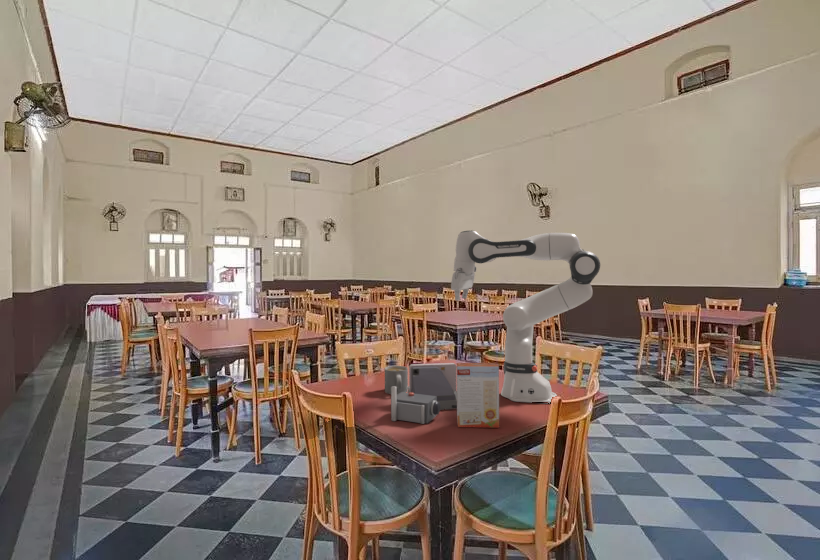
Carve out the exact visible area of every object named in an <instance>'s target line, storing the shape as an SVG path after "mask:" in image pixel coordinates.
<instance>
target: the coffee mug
mask: <svg viewBox="0 0 820 560" xmlns="http://www.w3.org/2000/svg"><path fill="white" fill-rule="evenodd" d="M408 370H409V367H408V366H404V365H390V366H386V367H384V392H385V394H388V395H391V387H392V386H396V387H397V395H398V394H399V393H401V392H407V393H408V386H409V380H408V377H409V376H408V375H409V371H408Z"/></svg>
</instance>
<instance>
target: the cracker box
mask: <svg viewBox="0 0 820 560" xmlns="http://www.w3.org/2000/svg"><path fill="white" fill-rule="evenodd" d="M499 375H500V366H499V365H498V364H497V363H495V362H492V363H490V362H475V363H474V362H457V363H456V391H457V409H456V423H457V424H456V425H457V428H484V429H485V428H486V429H487V428H488V429H489V428H491V429H494V428H495V429H499V428H500V376H499Z"/></svg>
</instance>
